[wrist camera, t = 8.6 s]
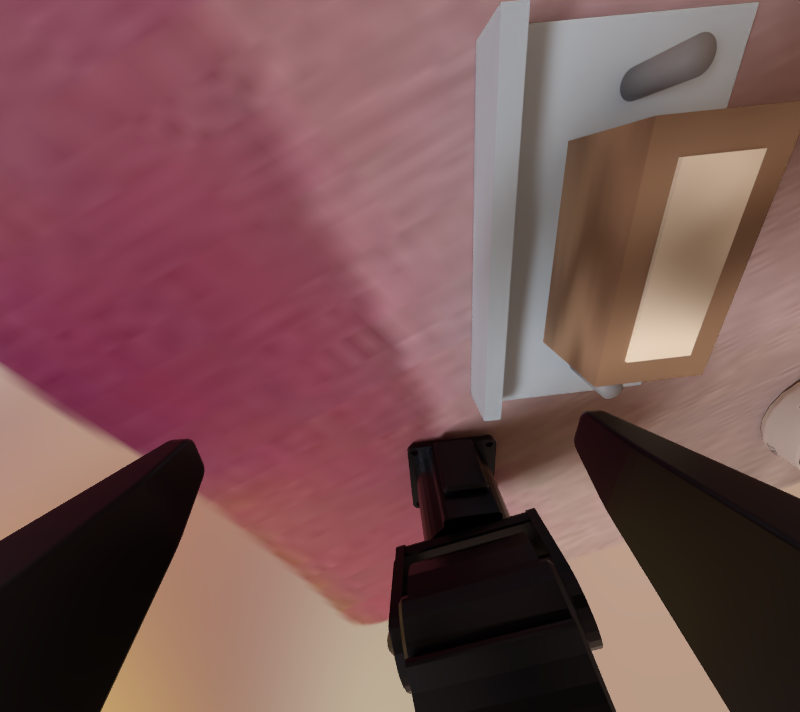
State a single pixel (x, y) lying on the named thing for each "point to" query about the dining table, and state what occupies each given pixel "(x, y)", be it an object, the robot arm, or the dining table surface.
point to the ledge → (546, 156)
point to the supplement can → (784, 426)
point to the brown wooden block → (660, 237)
